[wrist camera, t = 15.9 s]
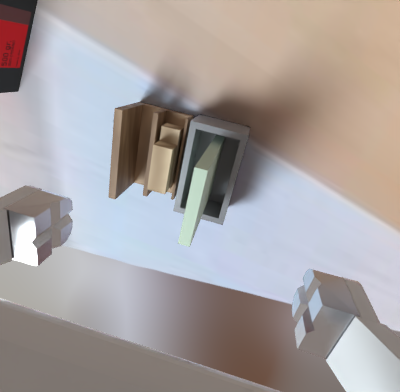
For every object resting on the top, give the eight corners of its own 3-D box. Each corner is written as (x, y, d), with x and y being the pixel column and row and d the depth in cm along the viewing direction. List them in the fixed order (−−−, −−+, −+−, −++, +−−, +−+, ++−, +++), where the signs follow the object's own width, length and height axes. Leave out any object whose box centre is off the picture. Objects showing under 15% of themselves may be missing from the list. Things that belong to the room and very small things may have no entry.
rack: (193, 115, 48) (179, 125, 40) (178, 191, 55) (164, 213, 46) (139, 101, 49) (114, 108, 41) (131, 178, 56) (108, 197, 47)
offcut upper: (177, 145, 46) (172, 149, 44) (169, 187, 50) (164, 194, 47) (159, 140, 47) (153, 144, 44) (153, 182, 50) (147, 189, 47)
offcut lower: (184, 127, 48) (180, 130, 45) (174, 183, 53) (169, 189, 50) (167, 122, 48) (161, 125, 45) (158, 179, 53) (152, 185, 50)
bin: (250, 127, 47) (248, 135, 41) (226, 207, 54) (222, 224, 48) (199, 114, 48) (190, 120, 42) (183, 194, 55) (173, 210, 49)
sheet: (225, 137, 48) (207, 170, 32) (210, 193, 53) (189, 246, 36) (216, 134, 48) (194, 167, 32) (202, 190, 53) (178, 243, 37)
